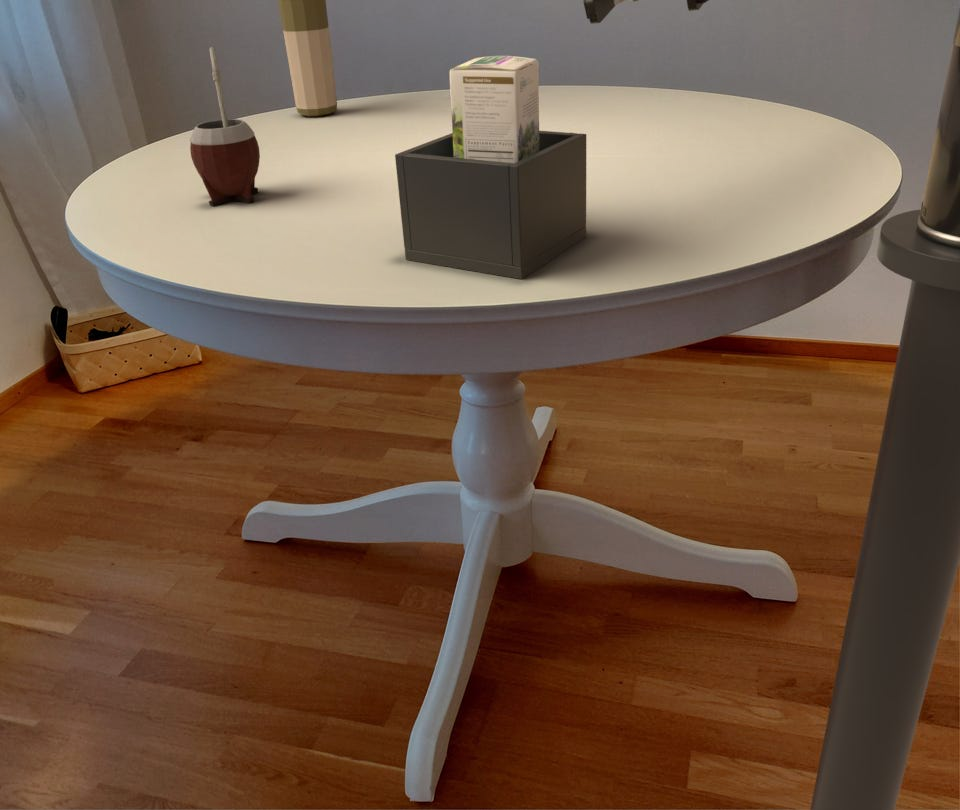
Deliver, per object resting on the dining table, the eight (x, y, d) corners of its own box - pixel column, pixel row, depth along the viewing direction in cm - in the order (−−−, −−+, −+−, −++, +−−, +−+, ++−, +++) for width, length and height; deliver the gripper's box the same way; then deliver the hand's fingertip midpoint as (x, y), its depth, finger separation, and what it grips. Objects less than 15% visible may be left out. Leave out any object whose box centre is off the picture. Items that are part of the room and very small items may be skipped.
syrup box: (480, 226, 80) (470, 55, 73) (543, 229, 78) (539, 54, 71) (457, 246, 75) (444, 66, 68) (523, 250, 73) (517, 66, 66)
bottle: (324, 108, 143) (295, -105, 129) (349, 112, 138) (321, -108, 124) (286, 115, 139) (252, -104, 125) (311, 120, 134) (278, -107, 120)
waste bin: (586, 236, 79) (586, 133, 74) (521, 279, 70) (517, 166, 66) (477, 221, 84) (471, 125, 80) (405, 259, 76) (394, 154, 72)
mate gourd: (228, 211, 92) (197, 59, 85) (184, 201, 97) (151, 56, 90) (283, 193, 97) (258, 49, 90) (238, 185, 102) (212, 46, 95)
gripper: (623, -100, 81) (549, -29, 72) (780, -134, 73) (720, -59, 64) (639, -17, 86) (571, 59, 76) (788, -40, 78) (733, 41, 69)
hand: (639, 5), depth 70 cm, fingers open, 8 cm apart
